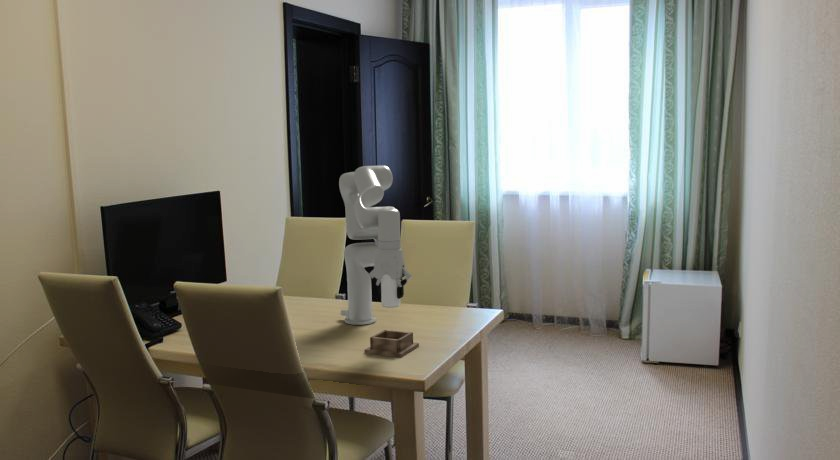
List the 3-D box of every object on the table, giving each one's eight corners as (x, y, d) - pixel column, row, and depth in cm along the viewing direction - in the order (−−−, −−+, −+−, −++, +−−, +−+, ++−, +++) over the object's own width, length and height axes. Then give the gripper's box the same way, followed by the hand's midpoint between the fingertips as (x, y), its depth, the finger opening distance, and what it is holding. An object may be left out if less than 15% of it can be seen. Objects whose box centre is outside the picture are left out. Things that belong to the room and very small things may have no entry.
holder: (364, 353, 252) (364, 338, 251) (383, 342, 264) (382, 328, 264) (401, 357, 246) (401, 342, 245) (418, 346, 259) (418, 331, 258)
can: (403, 304, 255) (402, 269, 254) (396, 308, 249) (395, 273, 248) (385, 303, 258) (384, 269, 256) (378, 307, 251) (377, 272, 250)
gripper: (361, 245, 251) (363, 297, 253) (407, 247, 244) (409, 301, 246) (372, 242, 258) (373, 293, 260) (417, 244, 251) (418, 296, 253)
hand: (390, 296), depth 253 cm, fingers closed on can, 6 cm apart
